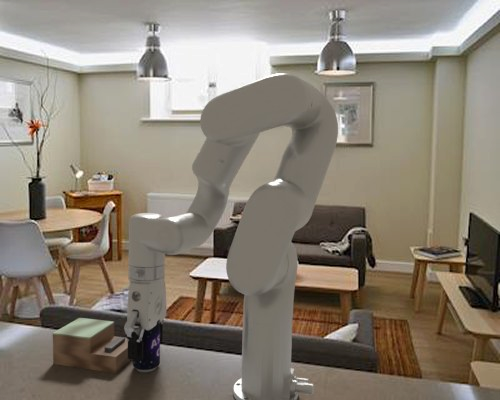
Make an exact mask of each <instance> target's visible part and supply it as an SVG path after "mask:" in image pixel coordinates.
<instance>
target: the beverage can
mask: <svg viewBox="0 0 500 400" xmlns="http://www.w3.org/2000/svg"><path fill="white" fill-rule="evenodd" d="M135 325H136V326H141V324H135ZM134 332H136V334H137V335H138V333H139V330H134ZM141 341H143V359H142V360H141V361H140V360H132V366H133V367H134V369H135V370H136V371H137V372H140V373H149V372H153V371H155V370H156V369H157V368H158V366H160V363H161V342H160V320H158V321H157V325H156V326H154V327H153V328H152V329H150V330H146V329H145V330H144V333H143V336H142V340H141Z"/></svg>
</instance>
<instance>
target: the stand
mask: <svg viewBox="0 0 500 400" xmlns="http://www.w3.org/2000/svg"><path fill="white" fill-rule="evenodd" d="M131 360H132V359H128V341H127V337H124V336H123V337H121V336H115V321H111V320H101V319H93V318H85V317H78V318H76V319H75V320H73V321H71V322H70V323H67V324H66V325H64V326H62V327H61V328H59V329H57V330H56V331H54V332H52V364H53V365H57V366H64V367H71V368H78V369H85V370H92V371H100V372H106V373H114V374H116V373H118V372H119V371H120V370H121V369H122V368H123V367H125V366H126V365H127V364H129V362H130V361H131Z"/></svg>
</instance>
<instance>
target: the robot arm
mask: <svg viewBox="0 0 500 400" xmlns="http://www.w3.org/2000/svg"><path fill="white" fill-rule="evenodd" d="M199 122H200V124H199V125H200V128H201V132H202V133H203V135H204V137H206V138H205V140H204V142H203V144H202V146H201V148H200V150H199V152H198V153H197V154H196V155H197V156H196V157H195V159H194V160H193V163H192V165H191V171H192V173H193V175H195V177H196V179H197V182H198V184H197V185H198V186H197V191H196V194H195V196H194V199H192V203H191V204H190V206H189V207H188V209H187V211H186V213H182V214H177V215H173V216H169V217H164V216H163V215H162V214H160V213H153V212H142V213H135V214H133V215H131V216H130V217H129V219H128V281H129V287H128V295H127V313H126V314H127V315H126V316H127V319H126V322H125V324H124V327H123V329H124V333H125V334H124V335H125V338H127V341H128V359H131V360H132V361H133V360H140V361H141V360H142V359H143V341H141V340H142V336H143V333H144V330H145V329H146V330H150V329H152V328H153V327H154V326H156V325H157V321H158V320H160V343H162V342H163V339H164V338H163V337H164V335H163V334H164V329H163V327H164V325H163V324H164V321H165V320H164V319H165V318H166V316H167V292H166V291H167V290H166V281H165V279H166V277H165V275H166V273H165V272H166V268H165V267H166V264H165V263H166V255H169V256H174V255H176V256H177V255H180V254H182V253H185V252H187V251H189V250H192V249H195V248H198V247H200V246H202V245H203V244H204V243H206V241H208V240H209V238H210V237H211V236H212V234H213V232H214V231H215V229H216V227H217V226H218V224H219V222H220V220H221V218H222V217H223V215H224V213H225V209H226V207H227V204H228V201H229V200H228V199H229V195H230V188H231V186H232V183H233V181H234V180H235V178H236V176H237V174H238V172H239V170H241V168H242V165H243V164H244V162H245V160H246V158H248V155H249V154H250V152H251V150H252V148H253V146H254V144H255V143H256V141H257V139H258V138H259V135H261V133H263V132H265V131H269V130H272V129H275V128H279V127H282V126H283V127H287V128H290V129H291V133H292V134H291V138H290V140H289V141H288V144H287V146H286V147H285V150H284V151H283V154H282V156H281V159H280V163H279V166H278V168H277V170H276V174H275V176H274V178H273V180H272V181H271V182H266V183H265V184H262V185H261V186H259V187H257V188H256V189H255V190H254V191H253V192H252V193H251V195H250V197H249V198H248V200H247V202H246V204H245V206H244V208H243V211H242V213H241V217H240V219H239V222H238V226H237V228H236V231H235V234H234V236H233V239H232V241H231V242H232V243H231V245H230V248H229V251H228V255H227V257H226V258H227V259H226V264H225V265H226V266H225V269H226V270H225V271H226V274H227V275H226V276H227V279H228V281H229V283H230V285H231V287H233V289H234V290H235V291H237V292H238V293H241V294H242V295H244V297H243V308H242V310H243V312H242V313H243V314H242V336H241V337H242V338H241V339H242V343H241V345H242V347H241V348H242V349H241V377H240V378H239V379H238V380H237V381H235V383H234V384H233V388H232V393H233V397H234V399H235V400H298V398H299V397H298V396H299V393H301V394H305V395H314V383H309V378H307V377H297V375H295V368H292V348H293V347H292V346H293V344H292V341H293V340H292V338H293V337H292V336H293V318H294V299H295V287H296V281H297V273H298V264H299V263H298V262H299V261H298V253H297V249H296V247H295V245H294V243H293V242H292V240H293V238H294V235H295V232H296V231H298V230H300V229H302V228H303V227H304V226H306V225H307V223H308V222H309V221H310V219H311V217H312V215H313V211H314V209H315V205H316V203H317V199H318V198H319V194H320V192H321V190H322V189H321V188H322V187H323V183H324V181H325V178H326V174H327V173H328V170H329V166H330V164H331V161H332V158H333V155H334V153H335V149H336V146H337V142H338V138H339V137H338V136H339V122H338V117H337V115H336V111H335V109H334V107H333V106H332V104H331V103H330V101H329V100H328V98H327V97H326V96H325V95H324V94H323V93H322V92H321V91H320V90H319V89H318V88H317V87H315V86H314V85H313V84H312V83H309V82H307V81H306V80H304V79H303V78H300V77H299V76H297V75H294V74H292V73H281V72H280V73H275V74H271V75H268V76H265V77H263V78H259V79H258V80H257V79H256V80H255V81H252V82H249V83H247V84H245V85H242V86H239V87H237V88H233V89H232V90H229V91H226V92H223V93H221V94H219V95H217V96H214V97H213V98H211V99H210V101H208V102H207V103H206V105H205V106H204V107H203V109H202V112H201V114H200V120H199ZM135 324H141V326H136V325H135ZM134 330H139V333H138V335H137V334H136V332H134Z"/></svg>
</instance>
